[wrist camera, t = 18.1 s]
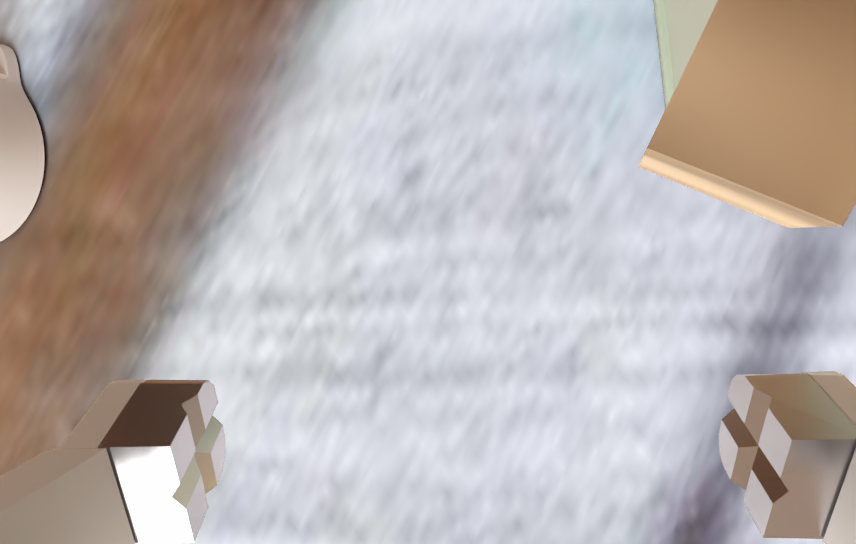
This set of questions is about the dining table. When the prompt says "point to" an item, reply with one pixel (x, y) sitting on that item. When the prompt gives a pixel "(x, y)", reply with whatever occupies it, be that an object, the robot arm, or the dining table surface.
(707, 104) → the beech block
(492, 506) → the dining table surface
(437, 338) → the dining table surface
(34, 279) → the dining table surface
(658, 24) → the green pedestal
